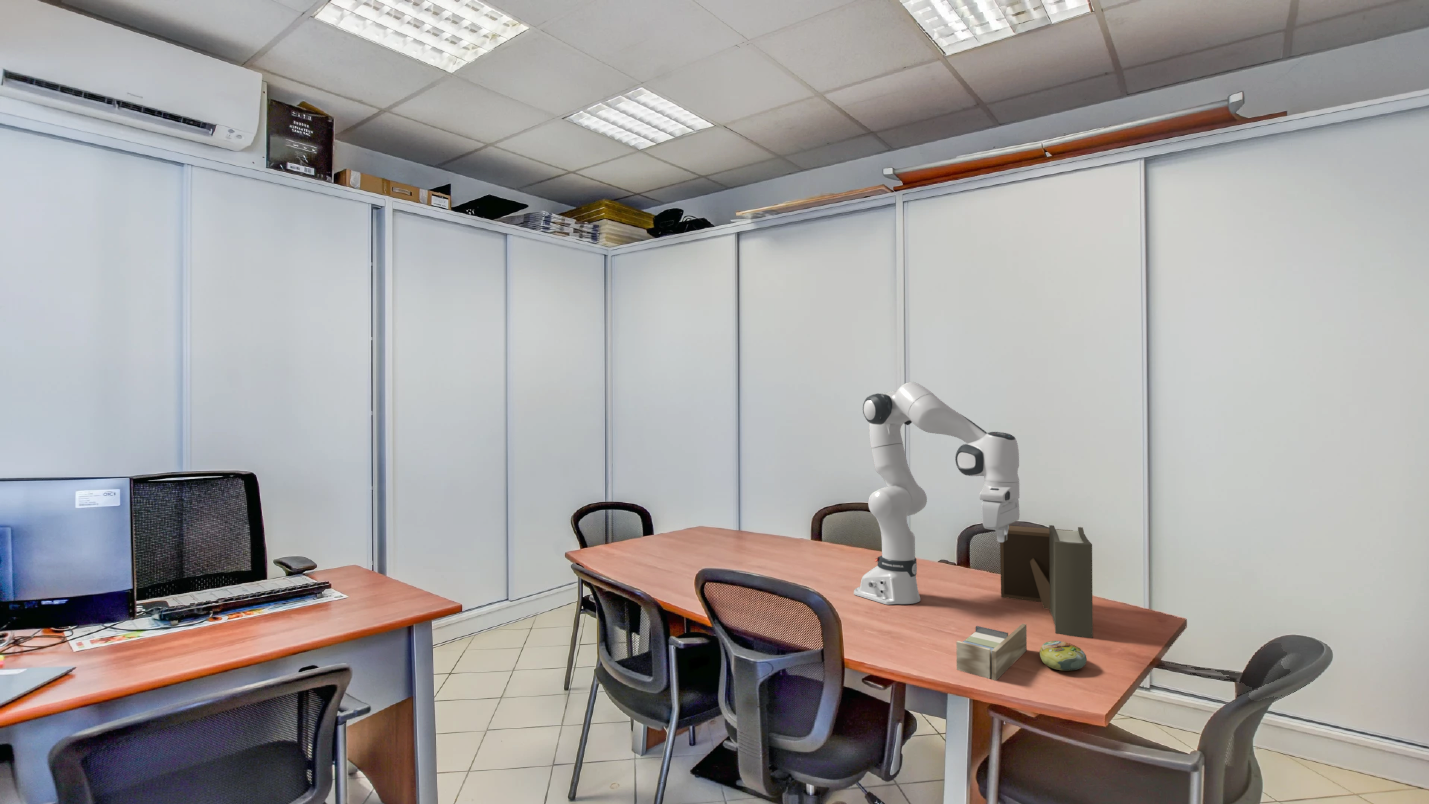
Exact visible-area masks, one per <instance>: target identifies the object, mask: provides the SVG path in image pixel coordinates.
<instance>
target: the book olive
mask: <svg viewBox="0 0 1429 804" xmlns="http://www.w3.org/2000/svg"><path fill="white" fill-rule="evenodd" d="M963 641H967V642H971V643H975V644H979V645H983V646H987V647H991V648H995V647H996V646H997V645H999V644H1000V643H997V642H993V641H989V640H984V639H980V638H976V637H972V636H971V635H969V636H968V637H967V638H965V640H963Z"/></svg>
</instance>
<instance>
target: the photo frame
mask: <svg viewBox="0 0 1429 804" xmlns="http://www.w3.org/2000/svg"><path fill="white" fill-rule="evenodd" d="M1055 529H1056V530H1062V529H1059V528H1055ZM1066 530H1067V531H1074V530H1072V529H1066ZM999 552H1000V553H999V555H1000V556H999V557H1000V559H999V561H1000V562H999V563H1000V598H1006V599H1014V600H1019V601H1020V600H1021V601H1030V602H1038V603H1041V604H1042V608H1043V609H1045V610H1049V611H1050V561H1049V528H1047V527H1046V528H1045V527H1033V526H1032V527H1030V526H1020V525H1019V526H1017V525H1015V526H1014V525H1009V530H1008V534H1007V540H1006V541H1005V542H999Z"/></svg>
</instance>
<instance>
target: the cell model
mask: <svg viewBox="0 0 1429 804" xmlns="http://www.w3.org/2000/svg"><path fill="white" fill-rule="evenodd" d="M1039 657H1040V659H1041V662H1042V663H1043V664H1044V665H1045V666H1047V667H1049V668H1050V669H1054V670H1057V671H1058V670H1059V671H1069V672H1070V671H1076V670H1079V669H1082V668H1084V667H1085V666H1086V664H1087V660H1088V659H1087V655H1086V654H1085V651H1083V649H1081V648H1080V647H1079V646H1077V645H1075V644H1072V643H1070V642H1067V641H1062V640H1050V641H1046V642H1044V643H1043V644H1042V645H1041V647H1040V648H1039Z"/></svg>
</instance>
